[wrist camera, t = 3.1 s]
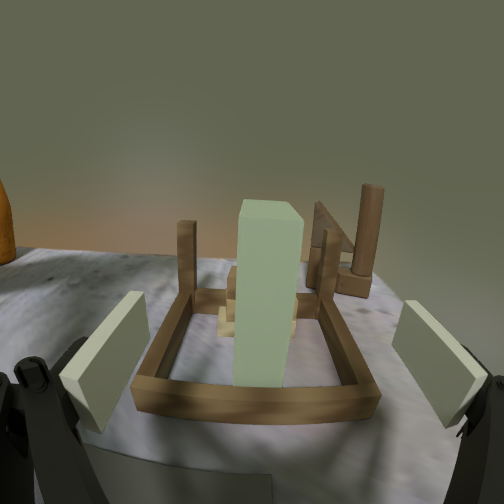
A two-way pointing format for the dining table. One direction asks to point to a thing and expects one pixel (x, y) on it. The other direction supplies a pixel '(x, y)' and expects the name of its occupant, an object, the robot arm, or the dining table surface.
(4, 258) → the wine bottle
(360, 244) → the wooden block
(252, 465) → the dining table surface
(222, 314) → the pine offcut
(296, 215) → the sage block
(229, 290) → the walnut offcut
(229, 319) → the oak offcut
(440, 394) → the robot arm
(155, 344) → the rack
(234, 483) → the felt mat
